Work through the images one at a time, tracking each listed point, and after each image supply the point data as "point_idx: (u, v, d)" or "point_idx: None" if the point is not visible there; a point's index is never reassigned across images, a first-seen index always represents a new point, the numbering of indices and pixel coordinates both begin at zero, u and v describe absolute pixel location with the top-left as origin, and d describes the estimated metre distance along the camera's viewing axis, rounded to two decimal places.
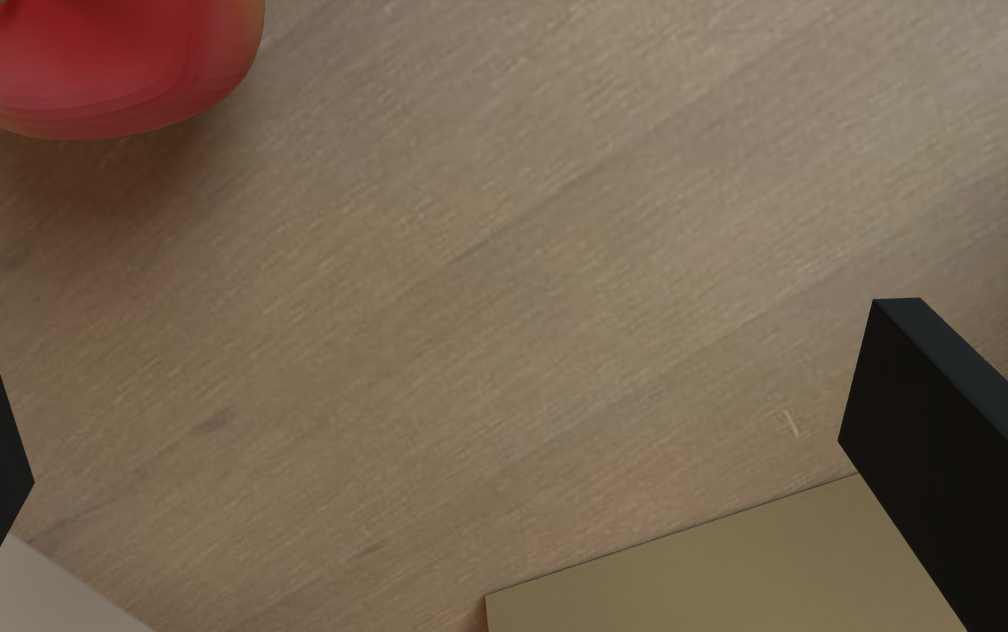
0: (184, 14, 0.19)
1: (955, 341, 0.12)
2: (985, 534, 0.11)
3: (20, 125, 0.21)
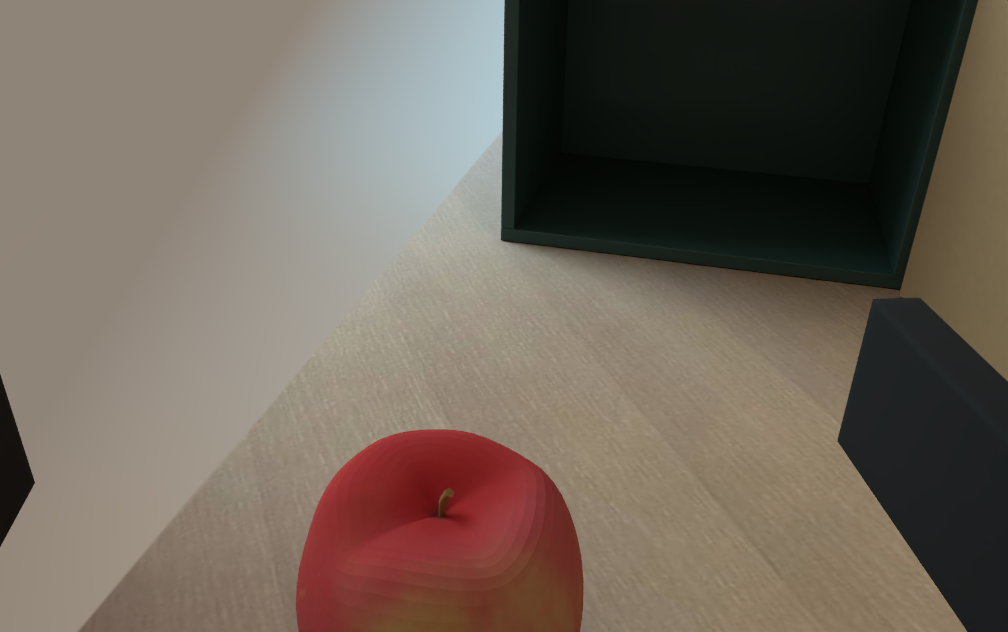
0: (495, 442, 0.30)
1: (955, 341, 0.12)
2: (985, 534, 0.11)
3: (542, 558, 0.26)
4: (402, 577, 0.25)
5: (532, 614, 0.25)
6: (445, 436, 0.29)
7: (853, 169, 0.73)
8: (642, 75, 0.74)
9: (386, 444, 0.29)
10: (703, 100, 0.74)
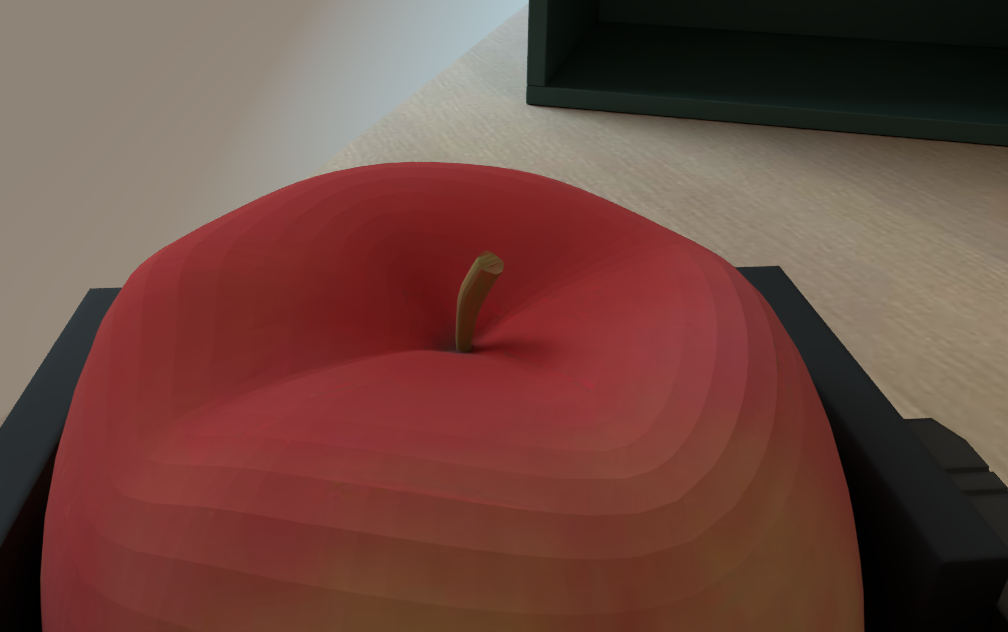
0: None
1: (800, 304, 0.13)
2: None
3: (796, 458, 0.08)
4: (328, 508, 0.07)
5: None
6: (471, 169, 0.11)
7: (988, 29, 0.55)
8: None
9: (314, 180, 0.11)
10: None
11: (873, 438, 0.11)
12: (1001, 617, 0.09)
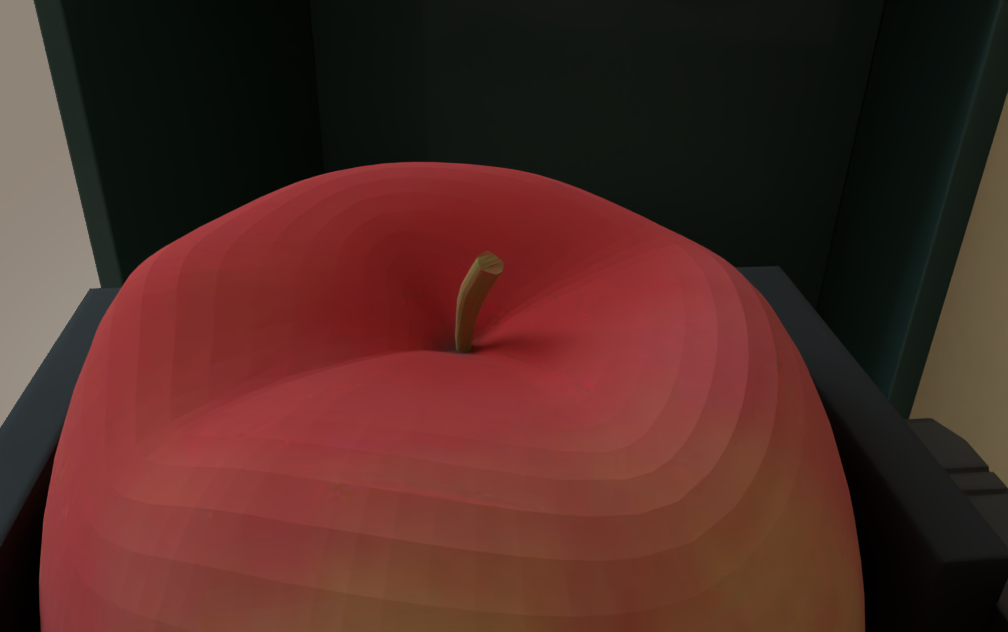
0: None
1: (800, 304, 0.13)
2: None
3: (797, 459, 0.08)
4: (328, 510, 0.07)
5: None
6: (470, 169, 0.11)
7: None
8: None
9: (313, 180, 0.11)
10: None
11: (873, 438, 0.11)
12: (1001, 618, 0.09)
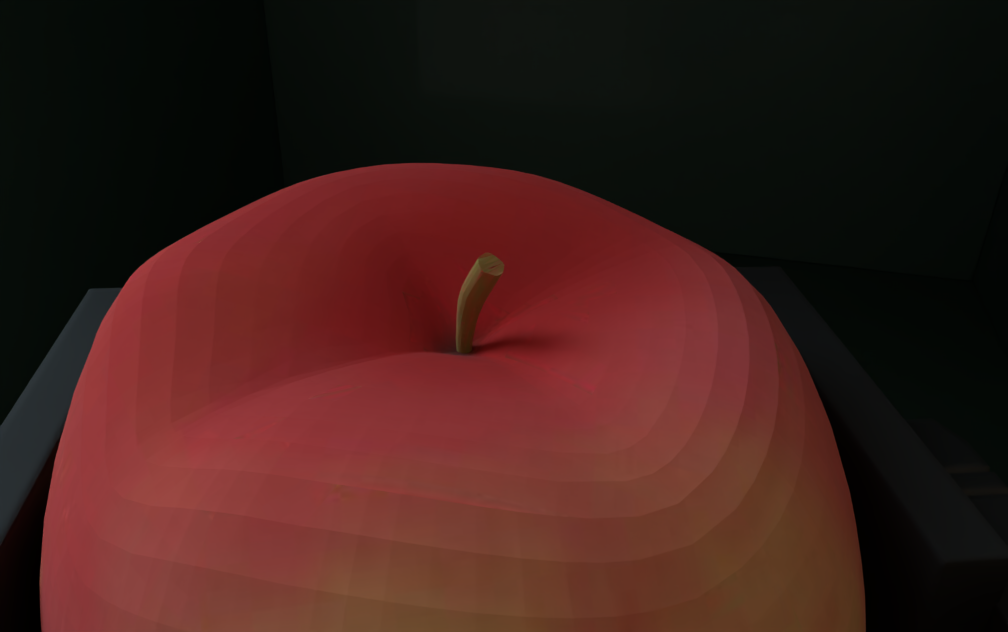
0: None
1: (800, 304, 0.13)
2: None
3: (798, 460, 0.08)
4: (329, 511, 0.07)
5: None
6: (471, 170, 0.11)
7: (935, 249, 0.31)
8: (435, 26, 0.31)
9: (314, 181, 0.11)
10: (578, 85, 0.31)
11: (874, 438, 0.11)
12: (1002, 618, 0.09)
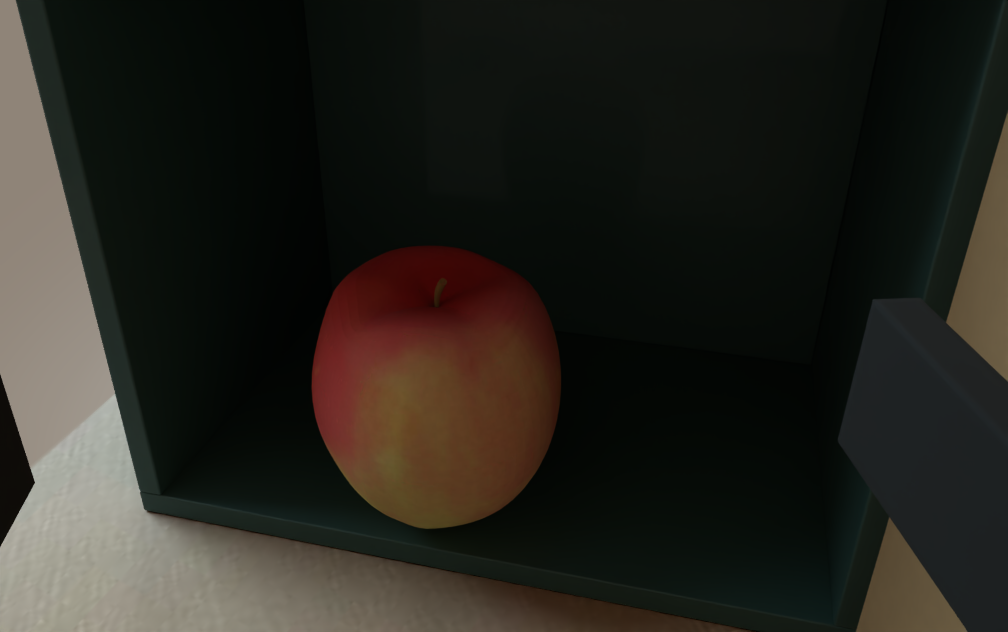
0: (483, 257, 0.34)
1: (955, 341, 0.12)
2: (986, 534, 0.11)
3: (523, 332, 0.30)
4: (403, 338, 0.29)
5: (514, 374, 0.30)
6: (440, 249, 0.34)
7: (785, 343, 0.45)
8: (440, 189, 0.45)
9: (389, 253, 0.33)
10: (539, 230, 0.45)
11: None
12: None
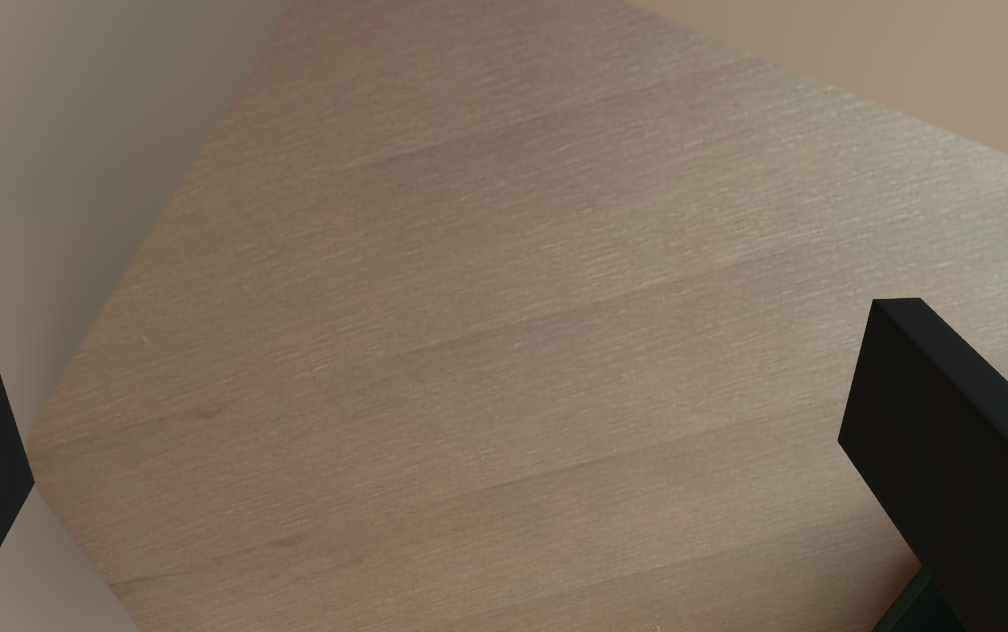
0: None
1: (955, 341, 0.12)
2: (985, 534, 0.11)
3: None
4: None
5: None
6: None
7: None
8: None
9: None
10: None
11: None
12: None
